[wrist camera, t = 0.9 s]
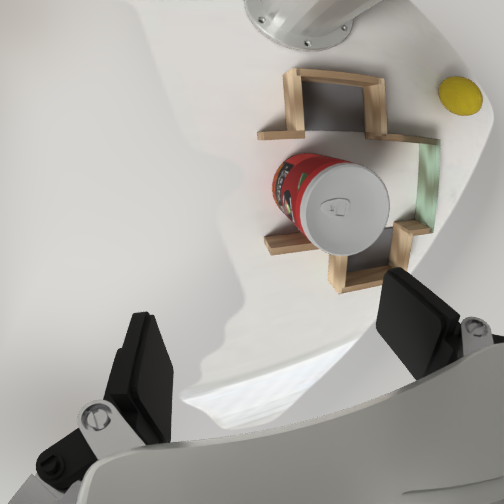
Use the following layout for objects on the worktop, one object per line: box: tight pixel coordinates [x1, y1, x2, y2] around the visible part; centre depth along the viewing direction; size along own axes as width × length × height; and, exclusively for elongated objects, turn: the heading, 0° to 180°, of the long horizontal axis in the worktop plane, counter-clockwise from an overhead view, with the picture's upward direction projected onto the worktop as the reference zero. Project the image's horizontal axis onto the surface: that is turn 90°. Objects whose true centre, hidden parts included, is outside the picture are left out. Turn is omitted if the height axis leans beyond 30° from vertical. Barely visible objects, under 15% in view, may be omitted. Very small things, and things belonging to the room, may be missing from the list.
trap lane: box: [257, 68, 440, 294], centre depth 30 cm, size 25×23×4 cm
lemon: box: [439, 77, 483, 116], centre depth 24 cm, size 6×6×8 cm
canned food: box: [272, 153, 390, 256], centre depth 26 cm, size 8×8×11 cm
